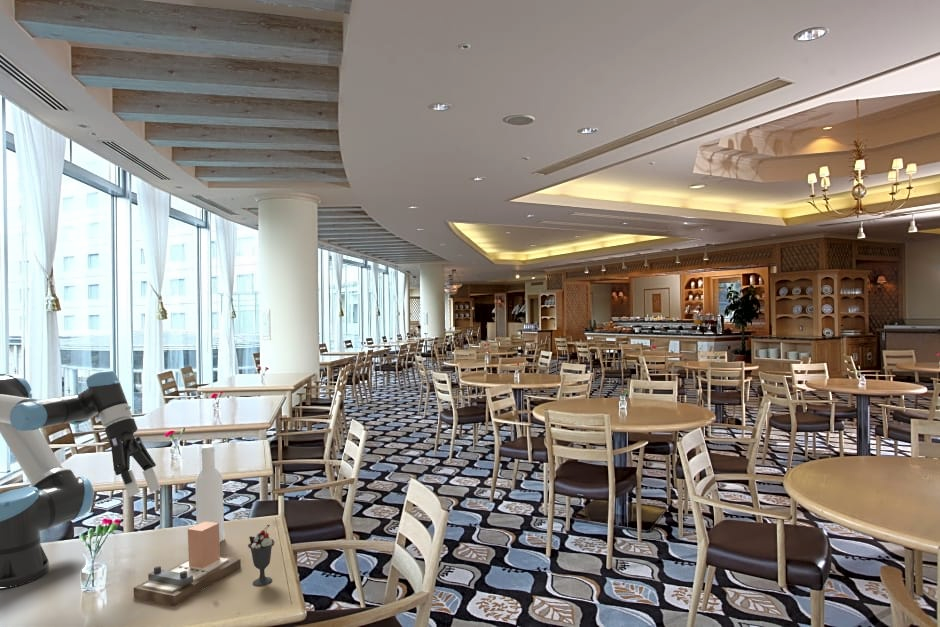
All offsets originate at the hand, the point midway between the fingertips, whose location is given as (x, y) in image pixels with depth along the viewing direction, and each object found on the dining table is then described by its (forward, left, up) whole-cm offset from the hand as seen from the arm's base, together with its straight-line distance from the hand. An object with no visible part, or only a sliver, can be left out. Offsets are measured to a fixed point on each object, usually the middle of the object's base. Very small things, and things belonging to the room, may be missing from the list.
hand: (145, 492), depth 161 cm
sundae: (+36, +5, -22) cm, 42 cm away
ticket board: (+17, -1, -22) cm, 28 cm away
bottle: (+1, +22, -22) cm, 31 cm away
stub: (+17, +4, -20) cm, 26 cm away
